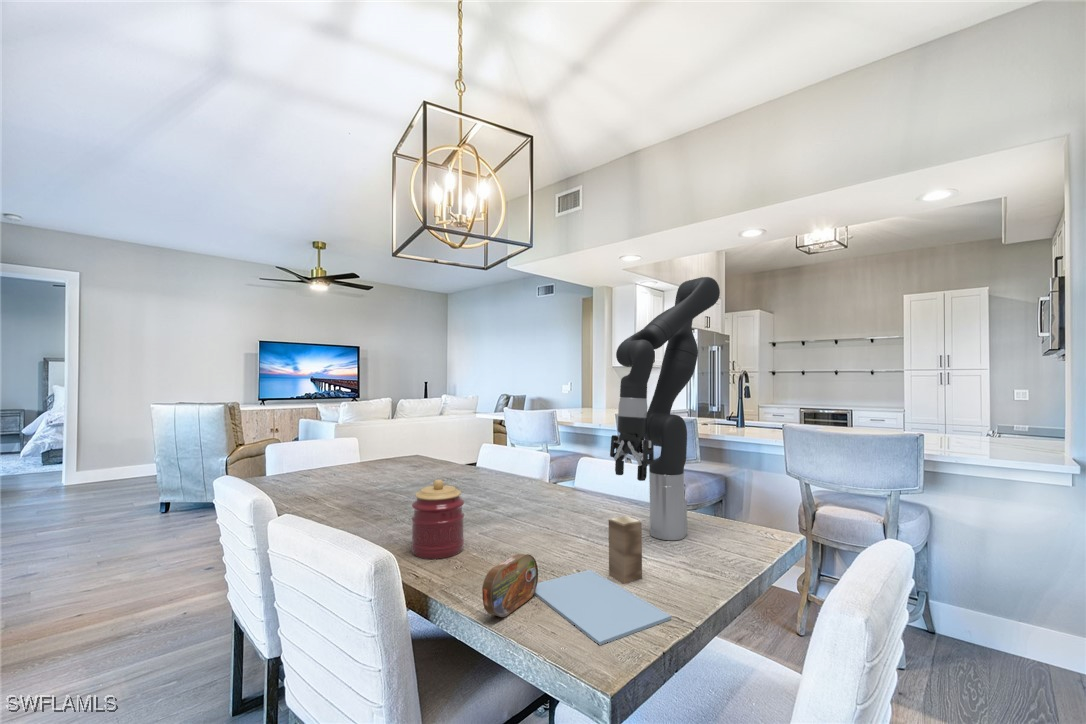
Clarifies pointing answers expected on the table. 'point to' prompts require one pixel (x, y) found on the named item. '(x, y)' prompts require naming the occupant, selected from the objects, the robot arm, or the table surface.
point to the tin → (510, 585)
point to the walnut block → (625, 549)
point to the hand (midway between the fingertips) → (630, 477)
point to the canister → (437, 522)
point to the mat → (598, 606)
